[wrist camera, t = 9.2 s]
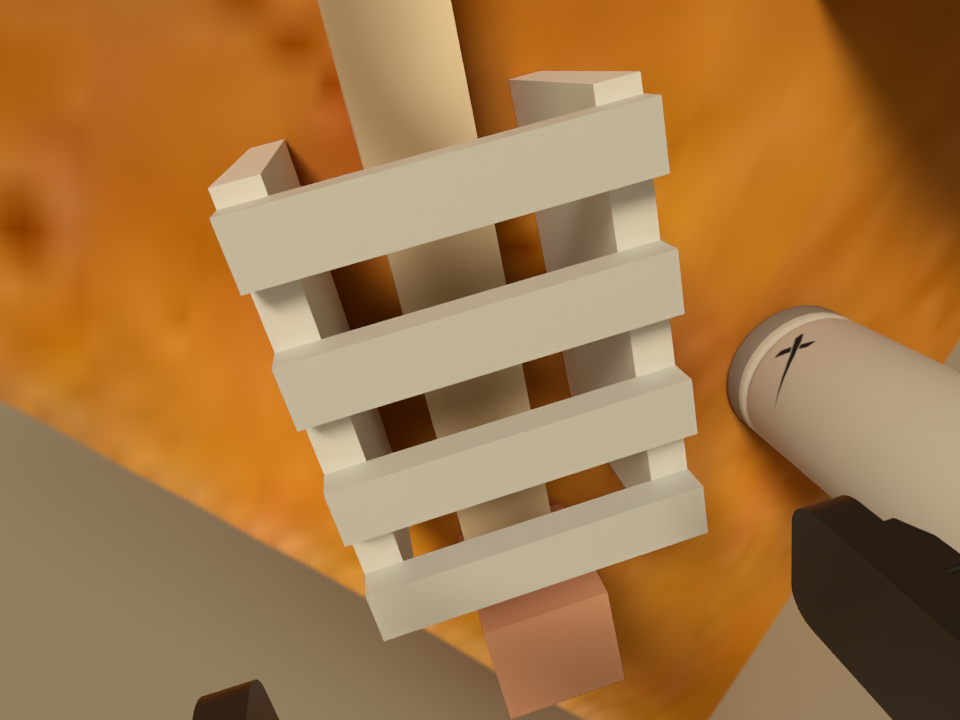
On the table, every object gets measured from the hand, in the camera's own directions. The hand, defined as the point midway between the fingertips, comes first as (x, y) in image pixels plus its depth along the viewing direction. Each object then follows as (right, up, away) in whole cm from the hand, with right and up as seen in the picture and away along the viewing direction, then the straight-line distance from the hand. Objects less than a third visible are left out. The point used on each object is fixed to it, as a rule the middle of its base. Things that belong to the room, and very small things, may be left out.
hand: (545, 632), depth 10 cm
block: (+1, -6, +22) cm, 23 cm away
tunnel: (-2, +6, +16) cm, 18 cm away
